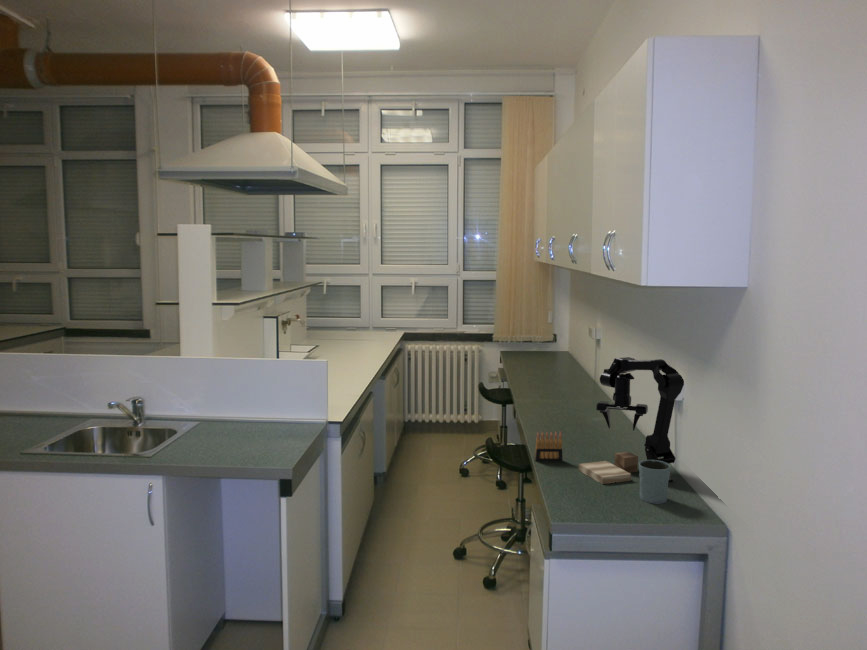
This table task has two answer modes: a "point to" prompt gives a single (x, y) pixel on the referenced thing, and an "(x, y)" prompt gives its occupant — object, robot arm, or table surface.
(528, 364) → the table surface
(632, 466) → the walnut cube
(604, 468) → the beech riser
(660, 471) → the grey-blue cup
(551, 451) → the ammunition clip
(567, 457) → the table surface
